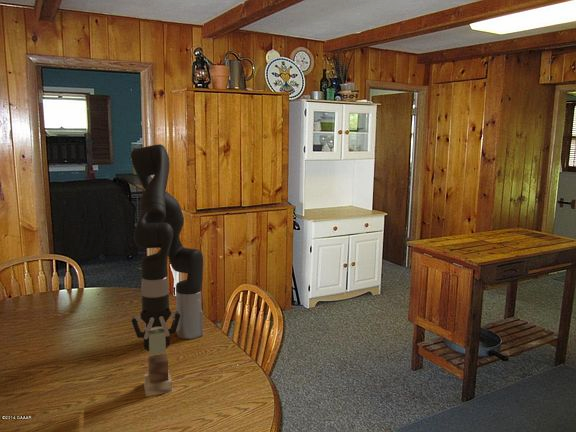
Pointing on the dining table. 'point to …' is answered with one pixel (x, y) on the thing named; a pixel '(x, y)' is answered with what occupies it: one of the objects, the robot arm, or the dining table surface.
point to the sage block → (157, 341)
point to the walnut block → (158, 368)
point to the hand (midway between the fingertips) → (156, 348)
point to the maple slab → (157, 385)
